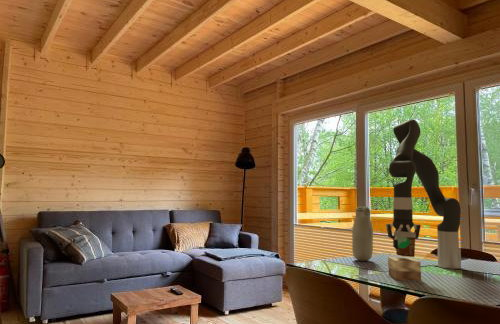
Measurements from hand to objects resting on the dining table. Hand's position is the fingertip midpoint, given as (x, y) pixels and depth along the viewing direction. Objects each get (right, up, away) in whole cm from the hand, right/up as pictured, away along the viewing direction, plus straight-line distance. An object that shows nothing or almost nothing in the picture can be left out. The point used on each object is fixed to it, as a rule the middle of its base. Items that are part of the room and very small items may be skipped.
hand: (403, 248), depth 167 cm
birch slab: (0, -8, -1) cm, 8 cm away
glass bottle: (-6, -15, +39) cm, 42 cm away
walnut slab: (0, -12, -1) cm, 12 cm away
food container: (-1, -3, 0) cm, 3 cm away
